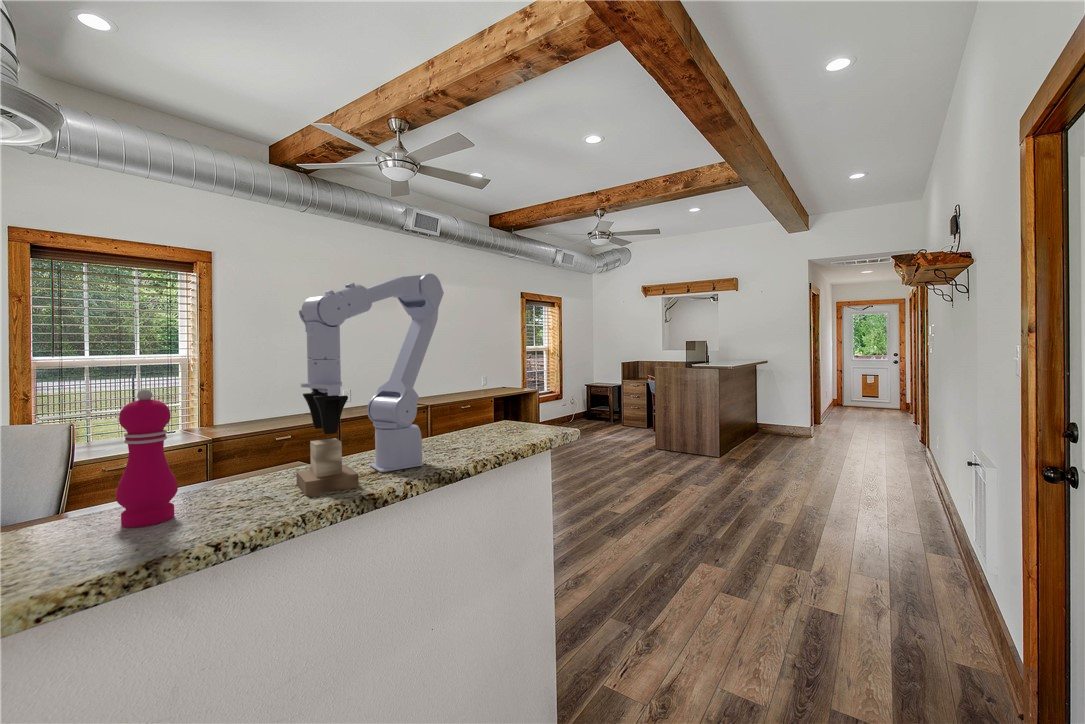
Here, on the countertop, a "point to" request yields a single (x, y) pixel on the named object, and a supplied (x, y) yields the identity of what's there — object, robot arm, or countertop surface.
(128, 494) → the pepper mill
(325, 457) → the ash block
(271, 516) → the countertop surface
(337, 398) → the robot arm
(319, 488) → the walnut block
